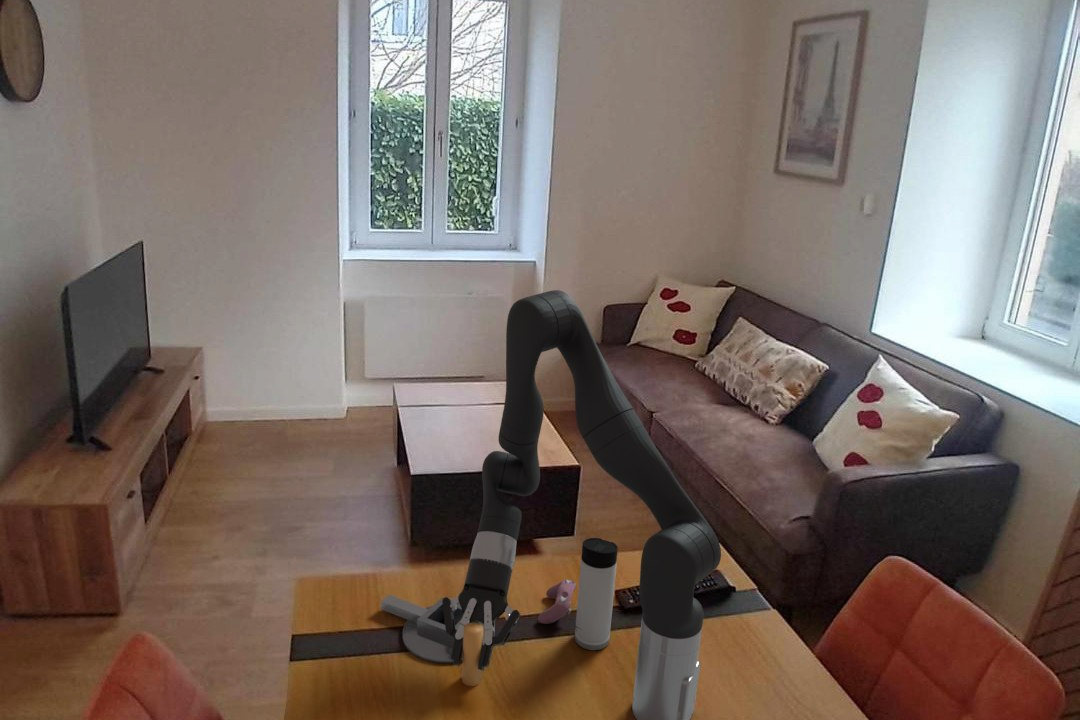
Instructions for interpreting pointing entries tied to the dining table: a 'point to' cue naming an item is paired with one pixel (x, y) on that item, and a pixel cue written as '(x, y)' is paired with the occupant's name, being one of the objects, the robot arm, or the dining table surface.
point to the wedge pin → (472, 653)
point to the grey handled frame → (425, 628)
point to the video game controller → (558, 601)
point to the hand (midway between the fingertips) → (468, 666)
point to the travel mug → (595, 593)
